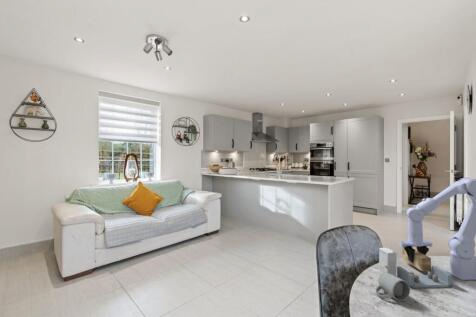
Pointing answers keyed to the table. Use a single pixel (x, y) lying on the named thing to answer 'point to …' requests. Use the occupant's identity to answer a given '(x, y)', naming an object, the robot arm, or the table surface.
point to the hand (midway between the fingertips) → (416, 261)
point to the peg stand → (426, 278)
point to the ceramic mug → (393, 287)
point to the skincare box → (387, 261)
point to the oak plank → (419, 260)
